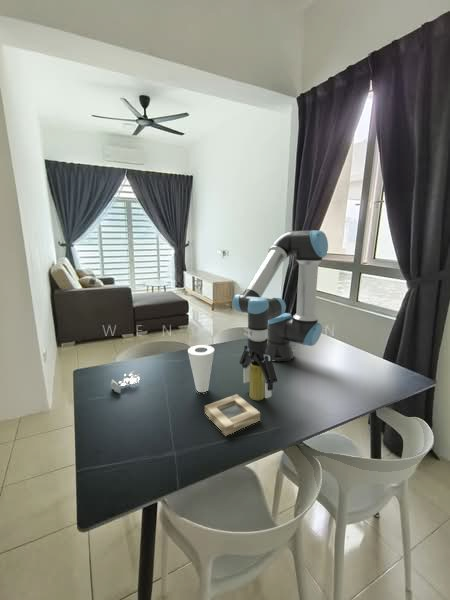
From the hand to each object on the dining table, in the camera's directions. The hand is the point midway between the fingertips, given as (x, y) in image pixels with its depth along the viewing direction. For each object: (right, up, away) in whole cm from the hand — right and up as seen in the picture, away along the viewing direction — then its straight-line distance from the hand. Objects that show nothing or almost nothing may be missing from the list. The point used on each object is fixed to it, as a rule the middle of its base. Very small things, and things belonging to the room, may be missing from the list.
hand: (256, 389), depth 113 cm
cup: (-22, -2, +5) cm, 23 cm away
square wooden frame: (-10, -6, -13) cm, 17 cm away
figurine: (-54, -2, +8) cm, 55 cm away
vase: (0, -3, +1) cm, 3 cm away
